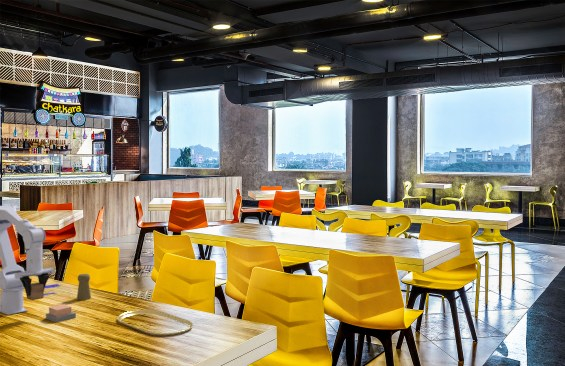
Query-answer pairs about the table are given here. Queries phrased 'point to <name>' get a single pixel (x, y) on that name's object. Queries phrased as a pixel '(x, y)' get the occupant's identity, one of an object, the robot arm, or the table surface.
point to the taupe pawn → (83, 287)
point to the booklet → (50, 287)
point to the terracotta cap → (59, 310)
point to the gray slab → (60, 317)
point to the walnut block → (36, 291)
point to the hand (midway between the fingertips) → (34, 294)
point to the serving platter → (156, 314)
